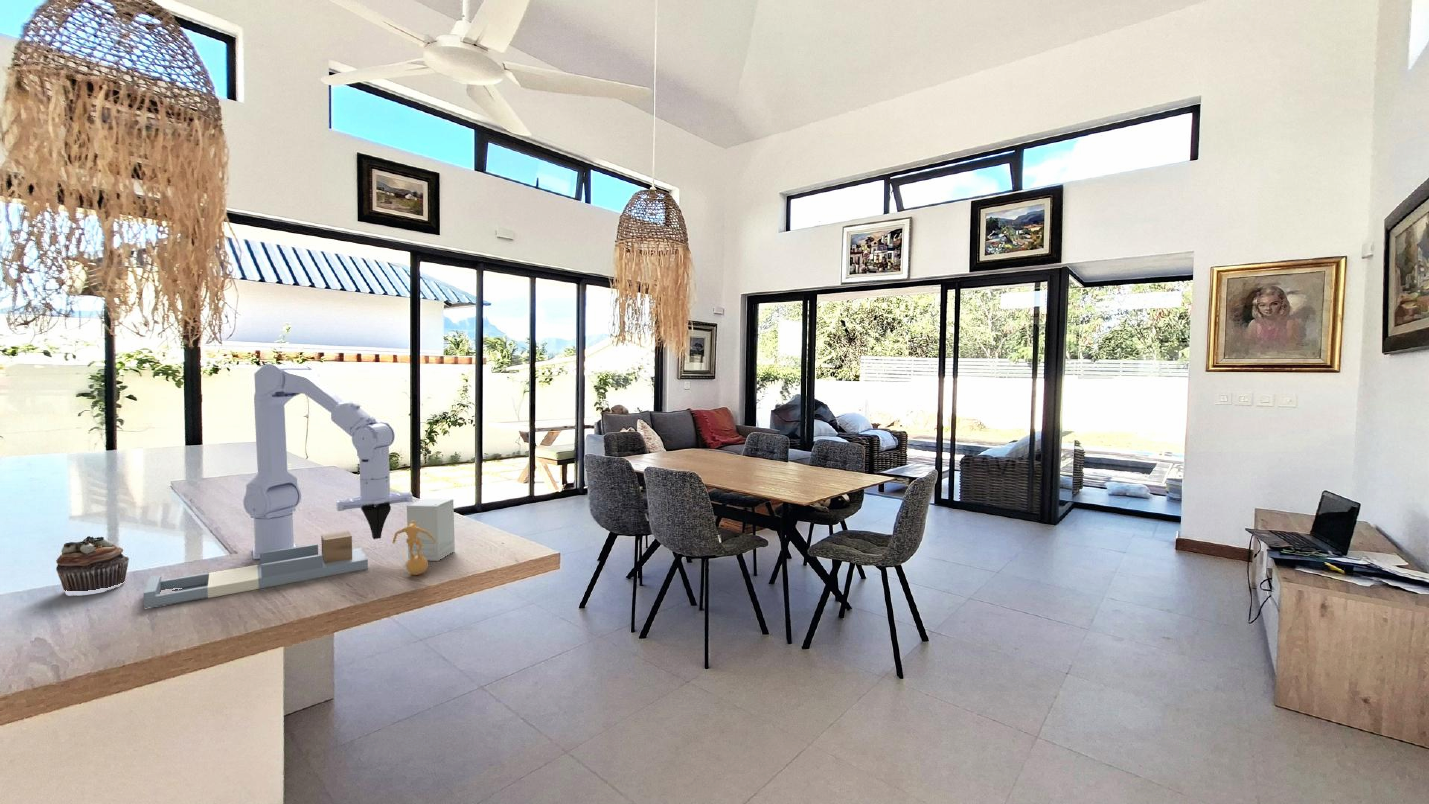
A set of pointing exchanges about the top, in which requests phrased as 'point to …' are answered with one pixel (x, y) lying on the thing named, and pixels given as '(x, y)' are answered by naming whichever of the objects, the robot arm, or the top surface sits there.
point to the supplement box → (433, 527)
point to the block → (336, 546)
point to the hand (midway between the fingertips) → (376, 537)
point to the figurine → (418, 562)
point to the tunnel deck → (252, 575)
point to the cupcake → (91, 565)
